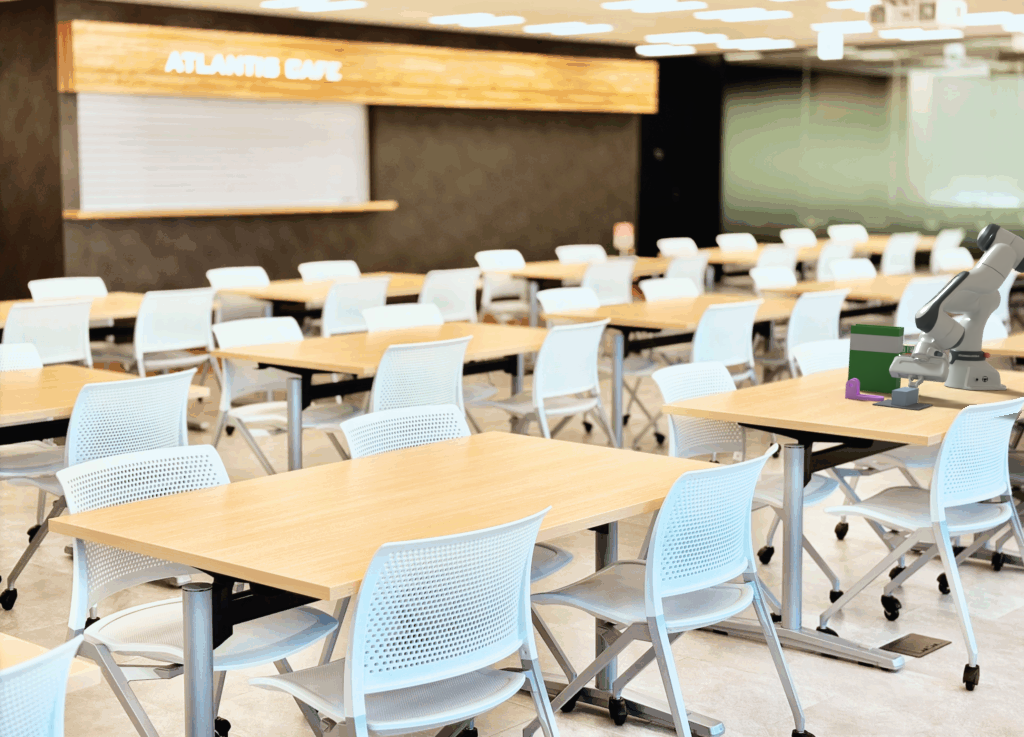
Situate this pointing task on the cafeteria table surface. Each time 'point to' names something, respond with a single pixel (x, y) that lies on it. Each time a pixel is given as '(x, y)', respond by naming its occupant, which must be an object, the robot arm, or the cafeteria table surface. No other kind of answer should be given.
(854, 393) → the bracket
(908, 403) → the slate block
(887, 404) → the mat
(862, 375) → the hardback book
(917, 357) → the robot arm
